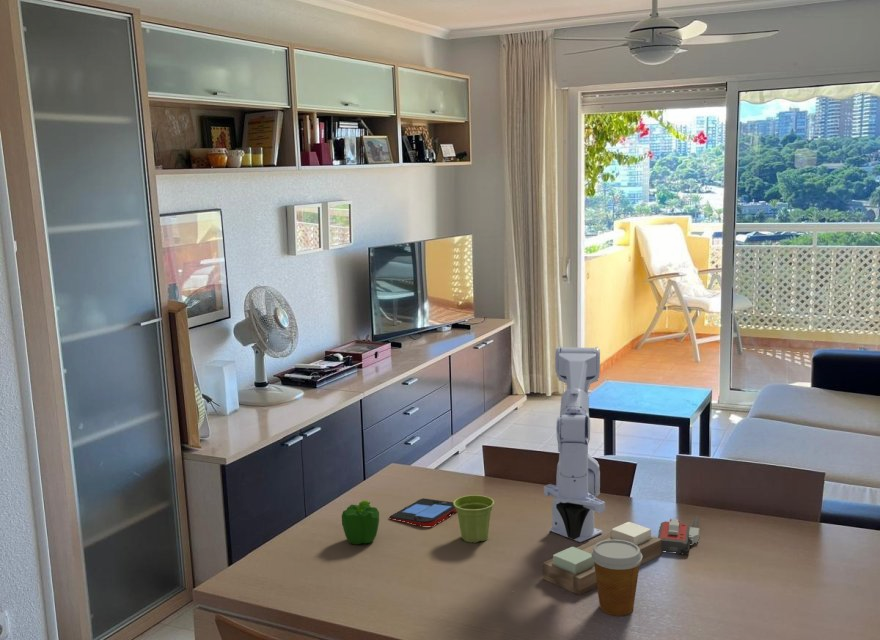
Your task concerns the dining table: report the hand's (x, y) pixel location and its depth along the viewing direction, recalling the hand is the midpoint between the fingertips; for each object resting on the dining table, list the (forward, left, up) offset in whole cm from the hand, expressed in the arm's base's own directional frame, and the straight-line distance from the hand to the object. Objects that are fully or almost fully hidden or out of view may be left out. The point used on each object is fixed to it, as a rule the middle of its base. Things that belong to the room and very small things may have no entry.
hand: (573, 537), depth 175 cm
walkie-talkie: (+2, +33, -10) cm, 35 cm away
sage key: (0, 0, -7) cm, 7 cm away
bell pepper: (-47, -20, -10) cm, 52 cm away
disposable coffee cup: (+13, -3, -10) cm, 16 cm away
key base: (0, +10, -9) cm, 13 cm away
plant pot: (-30, 0, -10) cm, 31 cm away
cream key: (0, +19, -7) cm, 20 cm away
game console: (-49, +1, -10) cm, 50 cm away
